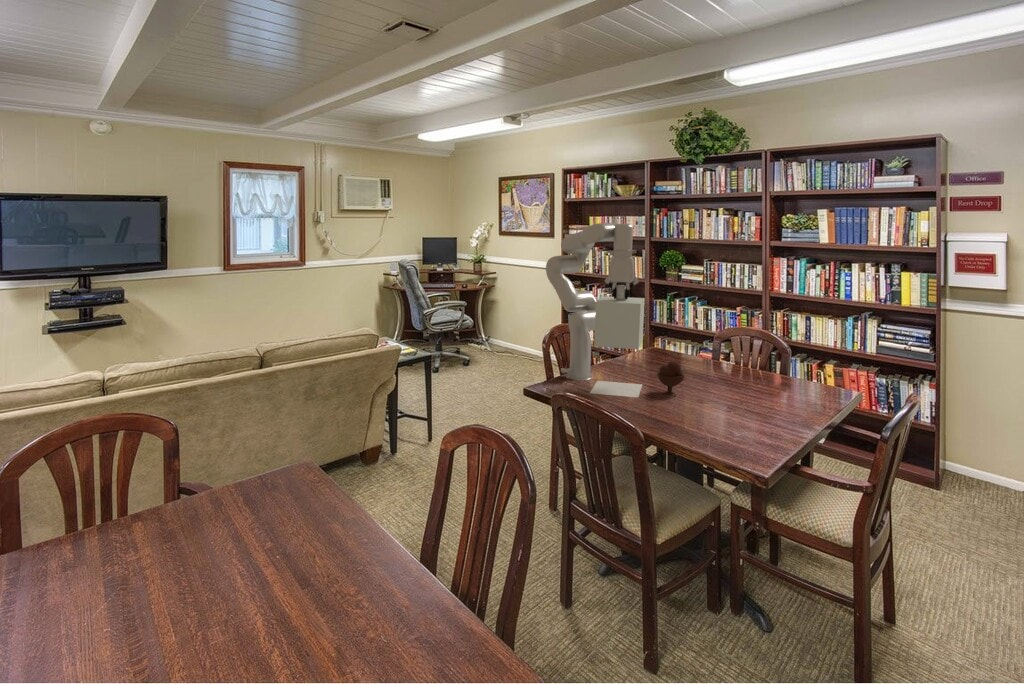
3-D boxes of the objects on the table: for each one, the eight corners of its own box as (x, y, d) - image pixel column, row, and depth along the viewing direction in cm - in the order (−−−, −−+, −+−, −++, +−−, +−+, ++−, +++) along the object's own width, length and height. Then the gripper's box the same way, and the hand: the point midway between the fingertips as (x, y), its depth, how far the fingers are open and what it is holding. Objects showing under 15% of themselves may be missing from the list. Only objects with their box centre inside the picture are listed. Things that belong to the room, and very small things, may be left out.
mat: (589, 395, 239) (589, 393, 239) (597, 382, 258) (597, 380, 258) (638, 399, 233) (638, 397, 233) (642, 386, 252) (642, 384, 252)
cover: (594, 346, 236) (596, 287, 230) (601, 338, 252) (603, 282, 247) (638, 349, 230) (641, 288, 225) (642, 340, 247) (645, 284, 242)
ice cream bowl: (679, 392, 244) (682, 358, 241) (684, 399, 233) (687, 364, 230) (654, 391, 245) (656, 357, 242) (658, 399, 234) (660, 363, 231)
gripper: (600, 254, 233) (599, 299, 236) (642, 255, 227) (640, 300, 231) (603, 253, 239) (602, 296, 243) (644, 254, 234) (642, 298, 238)
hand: (620, 298), depth 237 cm, fingers closed on cover, 4 cm apart
